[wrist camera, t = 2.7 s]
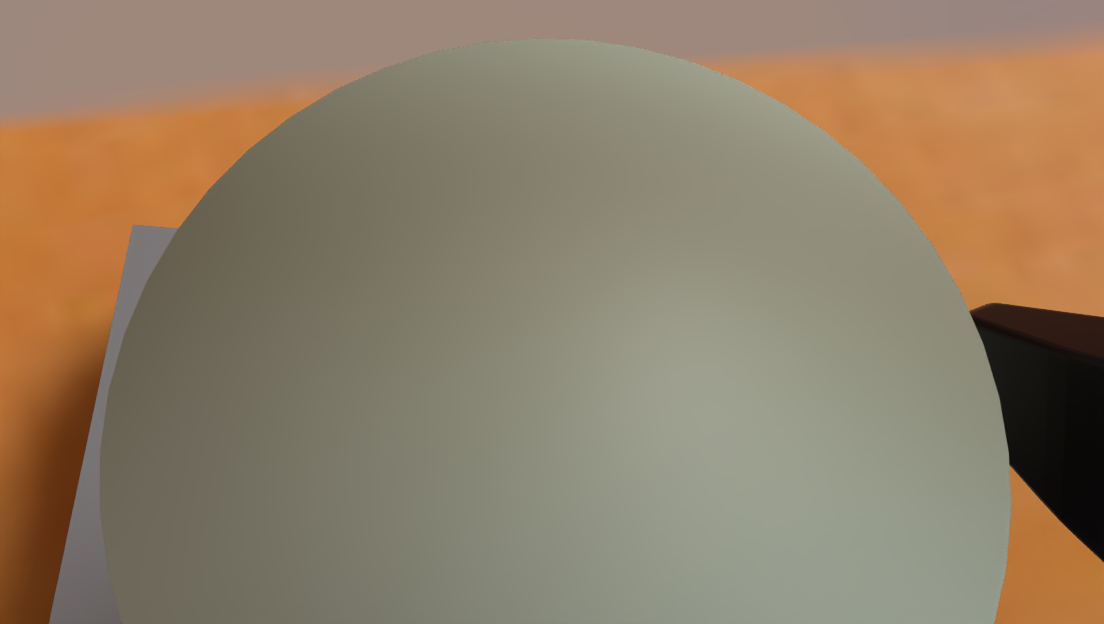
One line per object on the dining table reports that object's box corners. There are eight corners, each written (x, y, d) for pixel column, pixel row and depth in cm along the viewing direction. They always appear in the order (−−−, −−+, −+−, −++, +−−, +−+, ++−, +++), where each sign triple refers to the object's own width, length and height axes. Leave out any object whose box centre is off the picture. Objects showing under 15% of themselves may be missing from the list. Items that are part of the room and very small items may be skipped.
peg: (644, 759, 16) (1063, 962, 5) (330, 744, 16) (-3, 925, 5) (650, 452, 18) (967, 74, 7) (366, 433, 18) (188, 3, 6)
